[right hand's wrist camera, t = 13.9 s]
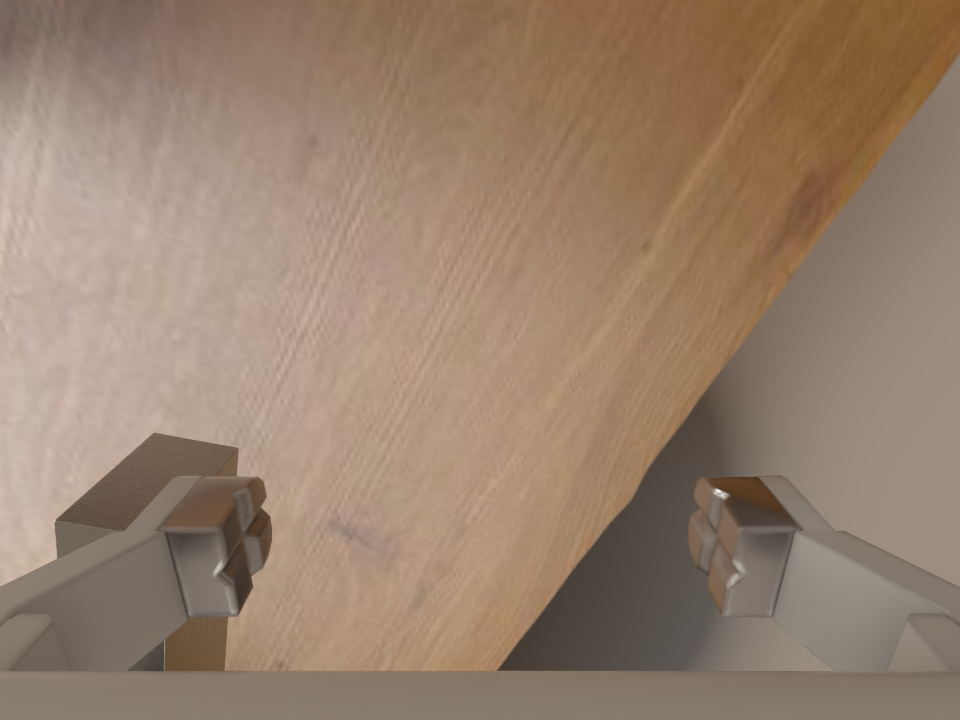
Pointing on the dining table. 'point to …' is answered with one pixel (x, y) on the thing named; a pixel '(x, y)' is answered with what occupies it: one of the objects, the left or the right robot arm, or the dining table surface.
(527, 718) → the right robot arm
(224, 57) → the dining table surface
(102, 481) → the bar
